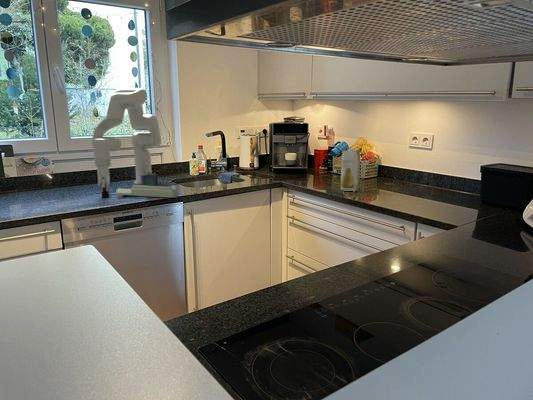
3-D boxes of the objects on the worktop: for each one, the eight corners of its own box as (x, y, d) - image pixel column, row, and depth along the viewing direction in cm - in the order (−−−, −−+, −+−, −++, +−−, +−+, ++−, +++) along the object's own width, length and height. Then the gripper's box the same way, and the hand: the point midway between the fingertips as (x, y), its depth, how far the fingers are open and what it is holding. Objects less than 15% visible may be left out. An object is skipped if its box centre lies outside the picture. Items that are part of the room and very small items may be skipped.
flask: (141, 190, 232) (140, 172, 229) (141, 189, 234) (140, 171, 232) (158, 189, 234) (157, 171, 232) (157, 188, 237) (156, 170, 235)
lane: (118, 196, 217) (117, 185, 216) (175, 193, 225) (174, 182, 224) (116, 201, 207) (115, 189, 206) (176, 197, 215) (176, 186, 214)
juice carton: (339, 191, 228) (340, 148, 223) (343, 189, 235) (345, 147, 230) (355, 193, 224) (357, 149, 219) (359, 190, 230) (361, 148, 225)
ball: (102, 196, 212) (101, 188, 211) (110, 195, 213) (109, 188, 212) (101, 197, 208) (100, 190, 207) (109, 197, 209) (109, 189, 208)
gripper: (96, 161, 213) (100, 195, 217) (92, 165, 197) (96, 202, 201) (111, 160, 215) (114, 194, 219) (109, 164, 199) (112, 201, 204)
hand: (106, 197), depth 210 cm, fingers open, 4 cm apart
